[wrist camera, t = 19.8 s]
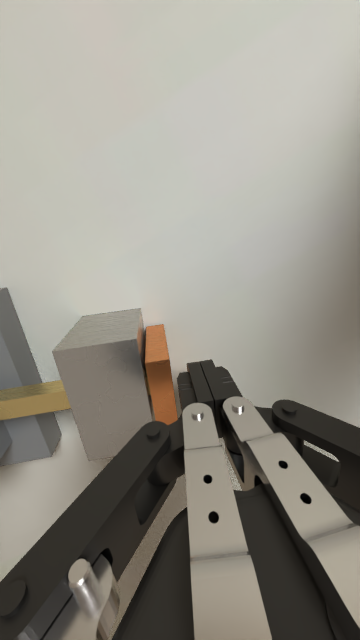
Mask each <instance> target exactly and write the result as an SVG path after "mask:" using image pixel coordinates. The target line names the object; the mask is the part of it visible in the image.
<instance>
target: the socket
mask: <svg viewBox="0 0 360 640" xmlns="http://www.w3.org/2000/svg"><path fill="white" fill-rule="evenodd" d="M40 383H42V381H41V378H40V375H39V373H38V370H37V367H36V365H35V362H34V359H33V357H32V354H31V351H30V349H29V346H28V343H27V340H26V338H25V335H24V332H23V330H22V327H21V324H20V322H19V319H18V316H17V314H16V311H15V308H14V305H13V303H12V300H11V297H10V295H9V292H8V289H7V288H0V390H2V389H9V388H15V387H21V386H27V385H34V384H40ZM60 437H61V432H60V429H59V427H58V424H57V421H56V418H55V416H54V413H53V412H47V413H41V414H35V415H29V416H23V417H17V418H11V419H6V420H0V466H4V465H10V464H15V463H21V462H26V461H31V460H37V459H42V458H47V457H52V455H53V452H54V450H55V448H56V446H57V444H58V441H59V439H60Z"/></svg>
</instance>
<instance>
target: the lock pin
mask: <svg viewBox="0 0 360 640" xmlns="http://www.w3.org/2000/svg"><path fill="white" fill-rule="evenodd" d="M145 365H146V367H145V376H146V381H147V387H148V392H149V395H151V398H152V403H153V409H154V414H155V420H156V421H161V422H164V423H165V424H167V425H169V424H171V423H173V422H175V421H177V420H178V417H177V410H176V403H175V396H174V389H173V382H172V375H171V367H170V360H169V354H168V348H167V342H166V336H165V330H164V324H162V325H155V326H148V327H146V353H145ZM70 408H71V406H70V404H69V401H68V398H67V395H66V392H65V389H64V386H63V383H62V380H59V381H53V382H46V383H40V384H34V385H27V386H21V387H15V388H9V389H2V390H0V420H6V419H11V418H17V417H23V416H29V415H35V414H41V413H47V412H53V411H58V410H64V409H70Z"/></svg>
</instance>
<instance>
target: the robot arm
mask: <svg viewBox="0 0 360 640" xmlns="http://www.w3.org/2000/svg"><path fill="white" fill-rule="evenodd" d="M187 371H188V372H183V373H179V376H178V378H177V382H178V389H179V397H180V403H181V409H182V414H181V416H180V418H179V419H178V420H177V421H175V422H173V423H171V424H169V425H167V424H165V423H164V422H161V421H152V422H149V423H147V424H145V425H144V426H142V427H141V428H140V430H139V431H138V432H137V433H136V434H135V435H134V436H133V437H132V438H131V439H130V440H129V442H128V443H127V444H126V445H125V446H124V447H123V448H122V449H121V450H120V451H119V453H118V454H117V455H116V456H115V457H114V458H113V459H112V460H111V461H110V462H109V464H108V465H107V466H106V467H105V468H104V469H103V470H102V471H101V472H100V473H99V474H98V476H97V477H96V478H95V479H94V480H93V481H92V482H91V483H90V484H89V485H88V487H87V488H86V489H85V490H84V491H83V492H82V493H81V494H80V495H79V496H78V498H77V499H76V500H75V501H74V502H73V503H72V504H71V505H70V506H69V507H68V508H67V510H66V511H65V512H64V513H63V514H62V515H61V516H60V517H59V518H58V519H57V521H56V522H55V523H54V524H53V525H52V526H51V527H50V528H49V529H48V530H47V531H46V533H45V534H44V535H43V536H42V537H41V538H40V539H39V540H38V541H37V542H36V544H35V545H34V546H33V547H32V548H31V549H30V550H29V551H28V552H27V553H26V555H25V556H24V557H23V558H22V559H21V560H20V561H19V562H18V563H17V564H16V565H15V567H14V568H13V569H12V570H11V571H10V572H9V573H8V574H7V575H6V576H5V578H4V579H3V580H2V581H1V582H0V640H108V637H109V634H110V631H111V629H112V626H113V624H114V622H115V619H116V616H117V613H118V609H119V603H120V592H119V587H118V584H117V581H118V580H119V578H120V576H121V575H122V573H123V571H124V570H125V568H126V566H127V565H128V563H129V561H130V560H131V558H132V556H133V554H134V553H135V551H136V549H137V548H138V546H139V544H140V543H141V541H142V539H143V538H144V536H145V534H146V532H147V531H148V529H149V527H150V526H151V524H152V522H153V521H154V519H155V517H156V516H157V514H158V512H159V511H160V509H161V507H162V505H163V504H164V502H165V500H166V499H167V497H168V495H169V494H170V492H171V490H172V489H173V487H174V485H175V483H176V480H177V478H178V477H180V476H181V475H183V474H185V476H186V493H187V507H186V508H185V509H184V510H182V511H181V512H180V513H179V514H178V515H177V516H176V517H175V518H174V519H173V521H172V522H171V523H170V525H169V526H168V528H167V530H166V531H165V533H164V535H163V537H162V539H161V541H160V543H159V545H158V547H157V549H156V551H155V553H154V555H153V557H152V560H151V562H150V564H149V566H148V568H147V570H146V572H145V574H144V576H143V578H142V580H141V582H140V584H139V586H138V588H137V590H136V592H135V594H134V596H133V598H132V600H131V602H130V604H129V606H128V608H127V610H126V612H125V614H124V616H123V618H122V620H121V622H120V624H119V626H118V628H117V630H116V632H115V634H114V636H113V638H112V640H360V428H358V427H356V426H354V425H351V424H349V423H346V422H344V421H341V420H339V419H336V418H334V417H331V416H329V415H326V414H324V413H322V412H319V411H317V410H314V409H312V408H309V407H307V406H304V405H302V404H299V403H297V402H294V401H291V400H279V401H276V402H275V403H274V404H273V406H272V408H261V407H256V406H253V404H252V403H251V402H250V401H249V400H248V399H246V398H243V396H242V395H241V393H240V391H239V389H238V388H237V386H236V384H235V382H234V381H233V379H232V377H231V375H230V374H229V372H228V370H226V369H225V368H223V367H222V366H221V367H215V365H214V363H213V361H212V360H205V361H200V362H193V363H187ZM222 437H223V439H224V441H225V451H226V454H227V456H228V459H229V461H230V463H231V465H232V468H233V470H234V472H235V475H236V477H237V479H238V482H239V484H240V486H241V489H242V491H237V490H233V487H232V483H231V479H230V475H229V471H228V467H227V463H226V459H225V455H224V451H223V447H222V445H220V443H219V438H222ZM304 440H305V441H307V442H309V443H311V444H313V445H315V446H317V447H319V448H321V449H323V450H325V451H327V452H329V453H331V454H333V455H334V456H335V457H336V458H337V459H338V460H339V461H340V462H337V461H335V460H333V459H331V458H329V457H327V456H325V455H323V454H321V453H319V452H317V451H316V450H314V449H312V448H310V447H308V446H306V445H304Z"/></svg>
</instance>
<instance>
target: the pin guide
mask: <svg viewBox="0 0 360 640" xmlns="http://www.w3.org/2000/svg"><path fill="white" fill-rule="evenodd" d="M52 353H53V356H54V359H55V362H56V365H57V368H58V371H59V374H60V377H61V380H62V383H63V386H64V389H65V392H66V395H67V398H68V401H69V404H70V406H71V409H72V412H73V415H74V418H75V421H76V424H77V427H78V430H79V433H80V436H81V439H82V442H83V445H84V448H85V451H86V454H87V457H88V460H89V461H92V460H97V459H102V458H108V457H113V456H116V455H117V454H118V453H119V451H120V450H121V449H122V448H123V447H124V446H125V445H126V444H127V443H128V442H129V440H130V439H131V438H132V437H133V436H134V435H135V434H136V433H137V432H138V431H139V430H140V428H141V427H142V426H144V425H145V424H147V423H149V422H152V421H156V420H155V414H154V409H153V403H152V398H151V395H149V392H148V387H147V381H146V376H145V367H146V365H145V353H146V337H145V331H144V325H143V320H142V314H141V308H138V309H131V310H124V311H116V312H109V313H102V314H95V315H88V316H82V317H81V319H80V320H79V321H78V322H77V323H76V324H75V326H74V327H73V328H72V329H71V330H70V331H69V332H68V334H67V335H66V336H65V337H64V338H63V339H62V341H61V342H60V343H59V344H58V345H57V346H56V347H55V349H54V350H53V351H52Z"/></svg>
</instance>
